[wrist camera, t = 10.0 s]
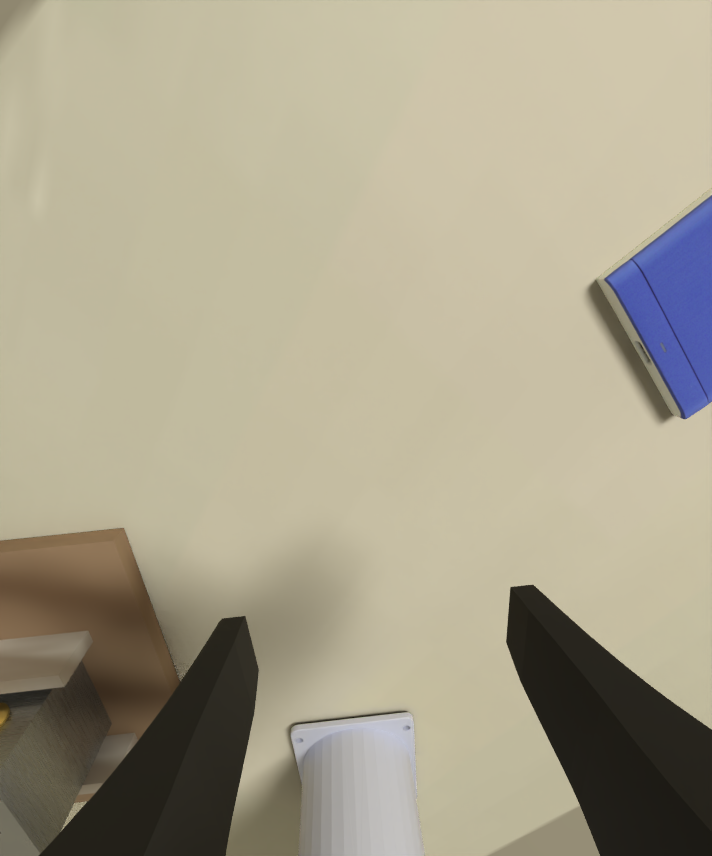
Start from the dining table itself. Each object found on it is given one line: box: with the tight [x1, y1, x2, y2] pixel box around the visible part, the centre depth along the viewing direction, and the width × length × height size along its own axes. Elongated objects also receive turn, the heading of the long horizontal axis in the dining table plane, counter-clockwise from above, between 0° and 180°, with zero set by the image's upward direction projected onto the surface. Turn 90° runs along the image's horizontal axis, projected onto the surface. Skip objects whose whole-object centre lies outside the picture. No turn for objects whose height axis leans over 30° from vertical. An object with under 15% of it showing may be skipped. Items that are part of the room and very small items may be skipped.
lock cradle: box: [0, 528, 180, 803], centre depth 22 cm, size 20×12×4 cm, turn 5°
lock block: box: [0, 660, 112, 856], centre depth 20 cm, size 6×4×6 cm, turn 5°
